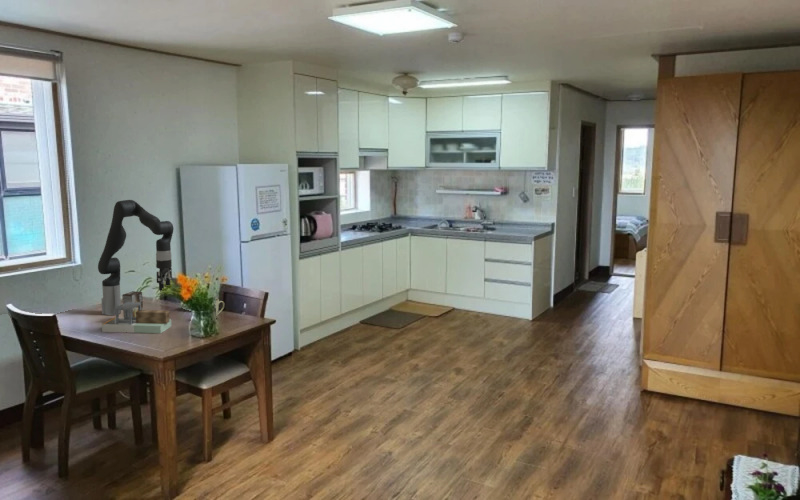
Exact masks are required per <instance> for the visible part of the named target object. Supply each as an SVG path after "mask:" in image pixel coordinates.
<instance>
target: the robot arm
mask: <svg viewBox="0 0 800 500" xmlns="http://www.w3.org/2000/svg"><path fill="white" fill-rule="evenodd" d="M112 212H113V213H112V218H111V219H112V220H111V223H110V228H109V231H108V234H107V238H106V240H105V244H104V247H103V248H104V249H103V251H102V254H101V255H100V258H99V261H98V264H97V271H98V272H99V274H101V275H109V276H107V278H105V279H103V280H102V281H101V282H102V283H101V284H102V288H101V289H102V298H101V314H102V315H104V316H116V312H115V308H116V307H118V306H120V305H122V303H121V262H120V260H119V258H118V257H113V256H114V255H116V253H117V252H120V251H119V250H121V249H122V248H123V247H124V244H125V242H126V238H127V232H126V229H125V228H124V226H123V220H124V219H125V218H129V217H137V218H138V219H139V222H140V224H141V225H142V226H145V227H146V228H148V229H149V230H150V231H151V232H152V234H153V235H157V236H162V237H161V238H159V239H157V240H156V241H155V246H156V248H155V249H156V253H155V263H156V265H155V266H156V269H159V271H156V283H157V284H158V290H159V291H161V290H162V288H164V289H165V286H166V285H170V286H171V279H172V278H173V271H172V270H173V269H172V251H171V247H172V246H171V242H172V239H173V233H174V225H173V223H172V222H171V221H169V220H165V221H164V220H163V221H161V220H160V218H159V217H158V216H156V215H154V214H152V213H150V212H149V211H147V210H146V209H145V208H144V207H142V206H141V205H140V204H139V203H138V202H137V201H135V200H133V199H127V200H126V199H124V200H118V201H116V202H115V204H114V207H113V211H112ZM164 282H165V285H164ZM121 313H122V310H118V315H120V314H121Z"/></svg>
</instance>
